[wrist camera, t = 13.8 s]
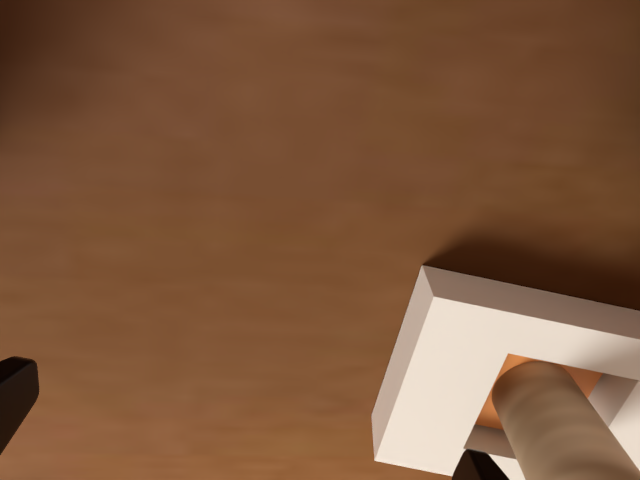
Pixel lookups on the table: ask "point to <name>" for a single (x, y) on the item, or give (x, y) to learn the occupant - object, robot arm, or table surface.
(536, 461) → the cream ridged cylinder
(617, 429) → the frame
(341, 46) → the table surface
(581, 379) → the breaker button
